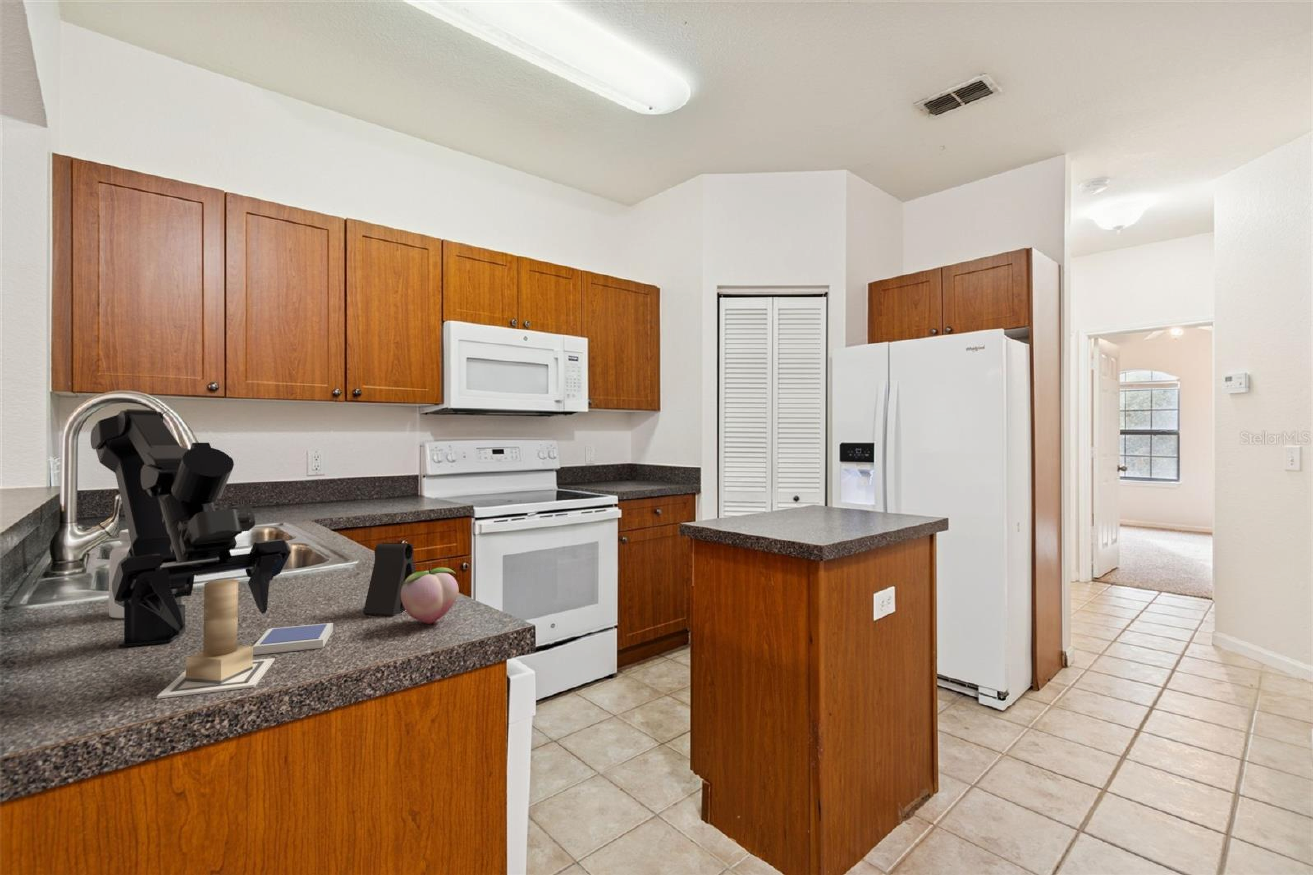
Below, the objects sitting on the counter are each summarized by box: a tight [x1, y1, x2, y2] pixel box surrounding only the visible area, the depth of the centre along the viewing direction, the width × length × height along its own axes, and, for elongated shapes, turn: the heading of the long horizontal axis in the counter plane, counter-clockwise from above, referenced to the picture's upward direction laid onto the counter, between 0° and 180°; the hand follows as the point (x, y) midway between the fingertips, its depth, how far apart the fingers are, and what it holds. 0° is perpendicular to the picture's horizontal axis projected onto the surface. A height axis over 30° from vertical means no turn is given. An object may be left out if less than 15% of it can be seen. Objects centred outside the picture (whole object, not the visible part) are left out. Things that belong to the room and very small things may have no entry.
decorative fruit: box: [401, 563, 460, 625], centre depth 103 cm, size 9×8×10 cm
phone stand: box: [362, 542, 417, 617], centre depth 112 cm, size 9×6×12 cm, turn 167°
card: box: [156, 657, 276, 700], centre depth 79 cm, size 10×10×1 cm
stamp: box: [185, 578, 254, 684], centre depth 79 cm, size 5×5×12 cm
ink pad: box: [252, 622, 334, 656], centre depth 93 cm, size 9×9×1 cm
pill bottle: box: [108, 528, 132, 619], centre depth 109 cm, size 8×8×15 cm
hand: (224, 619), depth 78 cm, fingers open, 9 cm apart
